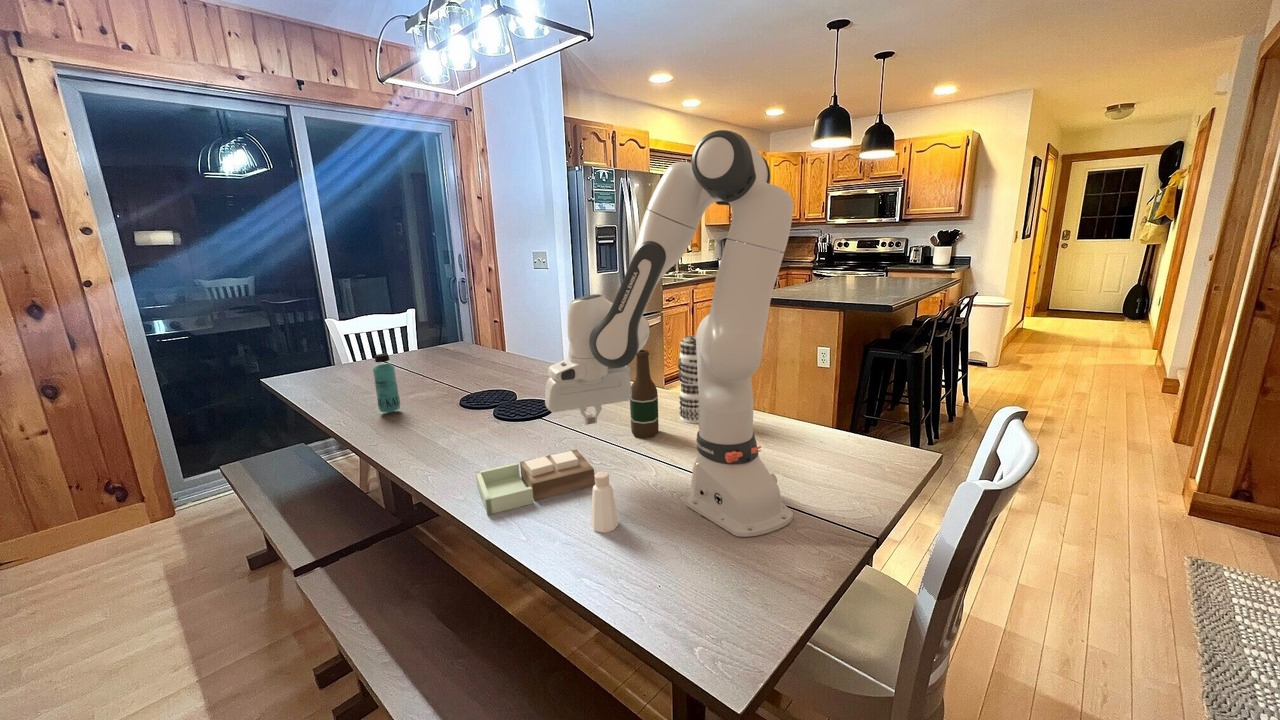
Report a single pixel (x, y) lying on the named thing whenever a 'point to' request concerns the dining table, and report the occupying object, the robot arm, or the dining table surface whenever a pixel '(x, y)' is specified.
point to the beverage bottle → (386, 385)
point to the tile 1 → (538, 466)
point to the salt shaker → (603, 505)
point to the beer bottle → (643, 400)
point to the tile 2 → (564, 460)
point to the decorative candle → (688, 381)
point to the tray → (503, 488)
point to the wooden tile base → (559, 478)
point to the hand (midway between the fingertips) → (590, 423)
